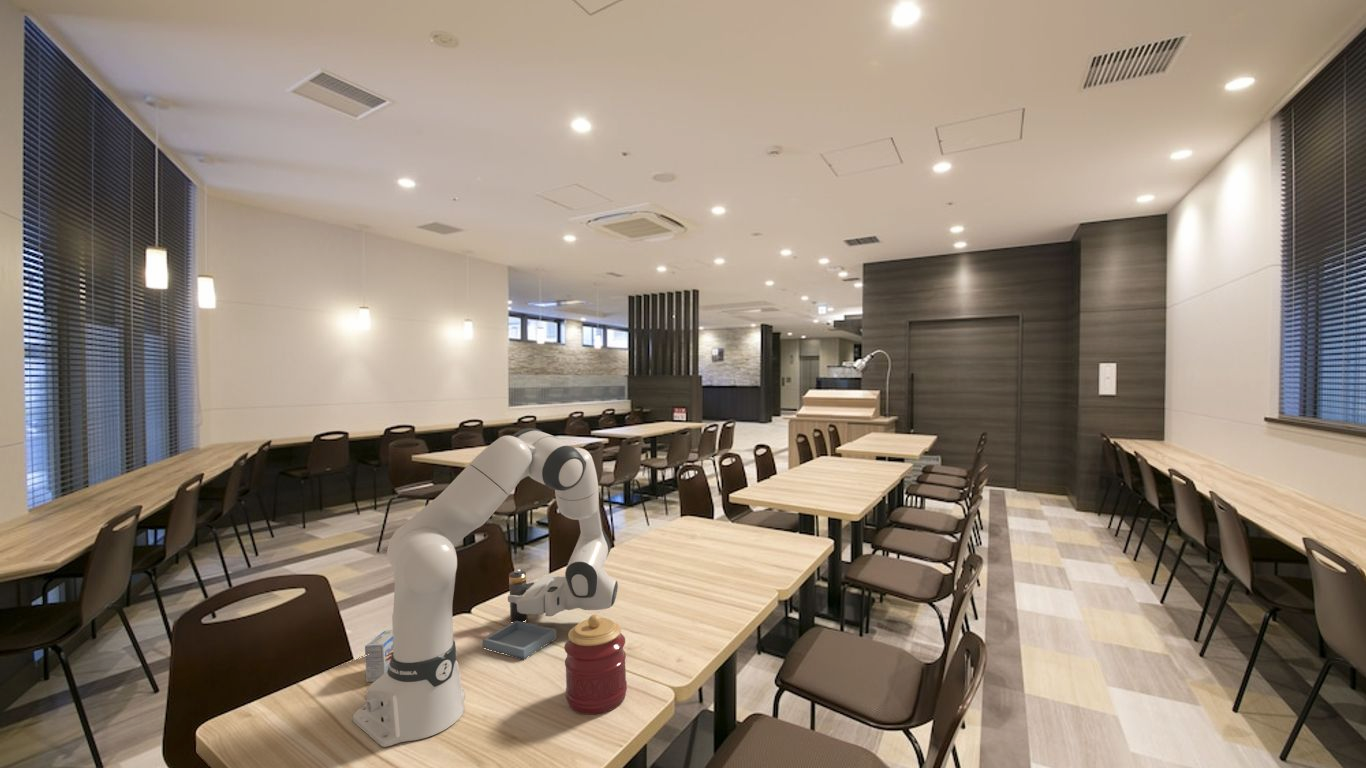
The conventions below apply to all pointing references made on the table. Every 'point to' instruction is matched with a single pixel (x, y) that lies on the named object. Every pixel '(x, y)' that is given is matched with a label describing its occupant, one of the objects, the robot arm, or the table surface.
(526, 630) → the tray
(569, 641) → the canister
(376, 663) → the medicine box
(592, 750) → the table surface
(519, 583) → the battery cell
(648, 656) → the table surface
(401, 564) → the robot arm
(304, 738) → the table surface
